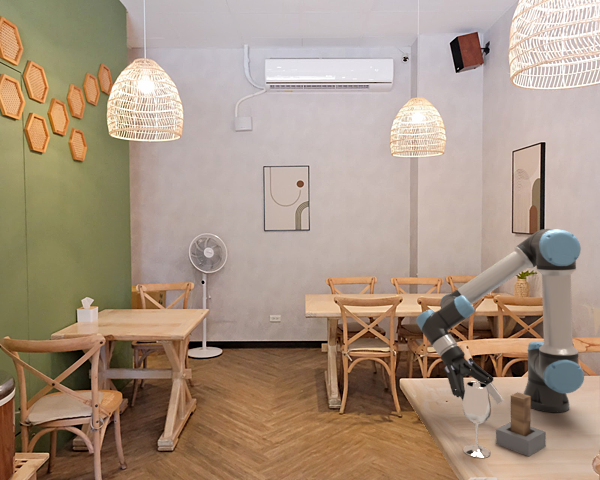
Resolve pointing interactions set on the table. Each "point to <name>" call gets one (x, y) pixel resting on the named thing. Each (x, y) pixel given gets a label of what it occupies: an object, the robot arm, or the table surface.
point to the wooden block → (520, 414)
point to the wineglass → (476, 414)
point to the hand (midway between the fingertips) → (489, 407)
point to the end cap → (521, 440)
